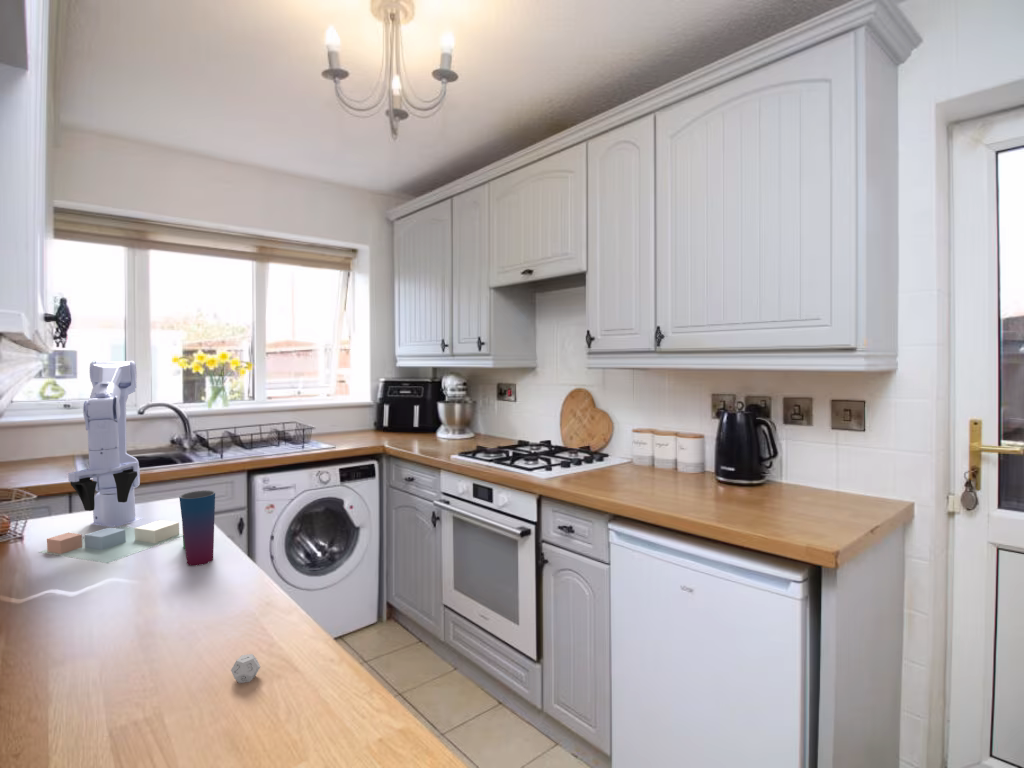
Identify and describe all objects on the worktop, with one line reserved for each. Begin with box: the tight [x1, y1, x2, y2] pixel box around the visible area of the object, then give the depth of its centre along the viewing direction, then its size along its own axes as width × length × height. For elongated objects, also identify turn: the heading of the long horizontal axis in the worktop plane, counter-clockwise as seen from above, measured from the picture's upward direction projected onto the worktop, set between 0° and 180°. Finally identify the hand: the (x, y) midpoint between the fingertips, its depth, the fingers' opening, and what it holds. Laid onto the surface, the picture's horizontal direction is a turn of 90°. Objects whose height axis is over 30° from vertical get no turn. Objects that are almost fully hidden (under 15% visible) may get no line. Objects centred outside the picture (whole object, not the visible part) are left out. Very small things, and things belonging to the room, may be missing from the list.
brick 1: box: [46, 532, 83, 554], centre depth 124 cm, size 4×4×3 cm
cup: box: [179, 489, 216, 567], centre depth 118 cm, size 7×7×15 cm
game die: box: [230, 653, 261, 684], centre depth 75 cm, size 4×4×3 cm
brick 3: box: [133, 519, 180, 543], centre depth 132 cm, size 6×6×3 cm
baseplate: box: [39, 525, 183, 564], centre depth 128 cm, size 22×19×1 cm
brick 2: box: [84, 527, 126, 550], centre depth 127 cm, size 6×6×3 cm
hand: (106, 506), depth 126 cm, fingers open, 7 cm apart
